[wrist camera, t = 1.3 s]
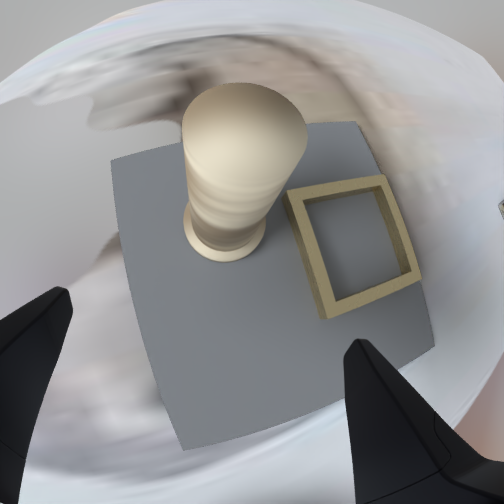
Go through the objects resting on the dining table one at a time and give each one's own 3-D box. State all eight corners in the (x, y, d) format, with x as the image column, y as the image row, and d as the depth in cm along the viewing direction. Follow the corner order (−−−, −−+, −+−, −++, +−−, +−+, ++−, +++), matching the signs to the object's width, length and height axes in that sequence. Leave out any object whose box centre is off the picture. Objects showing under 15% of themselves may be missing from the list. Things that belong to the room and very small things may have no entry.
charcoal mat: (429, 345, 23) (434, 346, 22) (184, 446, 18) (183, 450, 17) (352, 125, 27) (355, 121, 26) (113, 164, 22) (110, 160, 21)
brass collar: (412, 281, 23) (422, 278, 22) (319, 319, 21) (327, 319, 20) (376, 180, 25) (384, 173, 23) (281, 198, 23) (286, 190, 21)
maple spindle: (273, 251, 22) (345, 180, 10) (194, 271, 20) (182, 214, 9) (250, 180, 23) (290, 70, 11) (176, 196, 21) (157, 85, 10)
